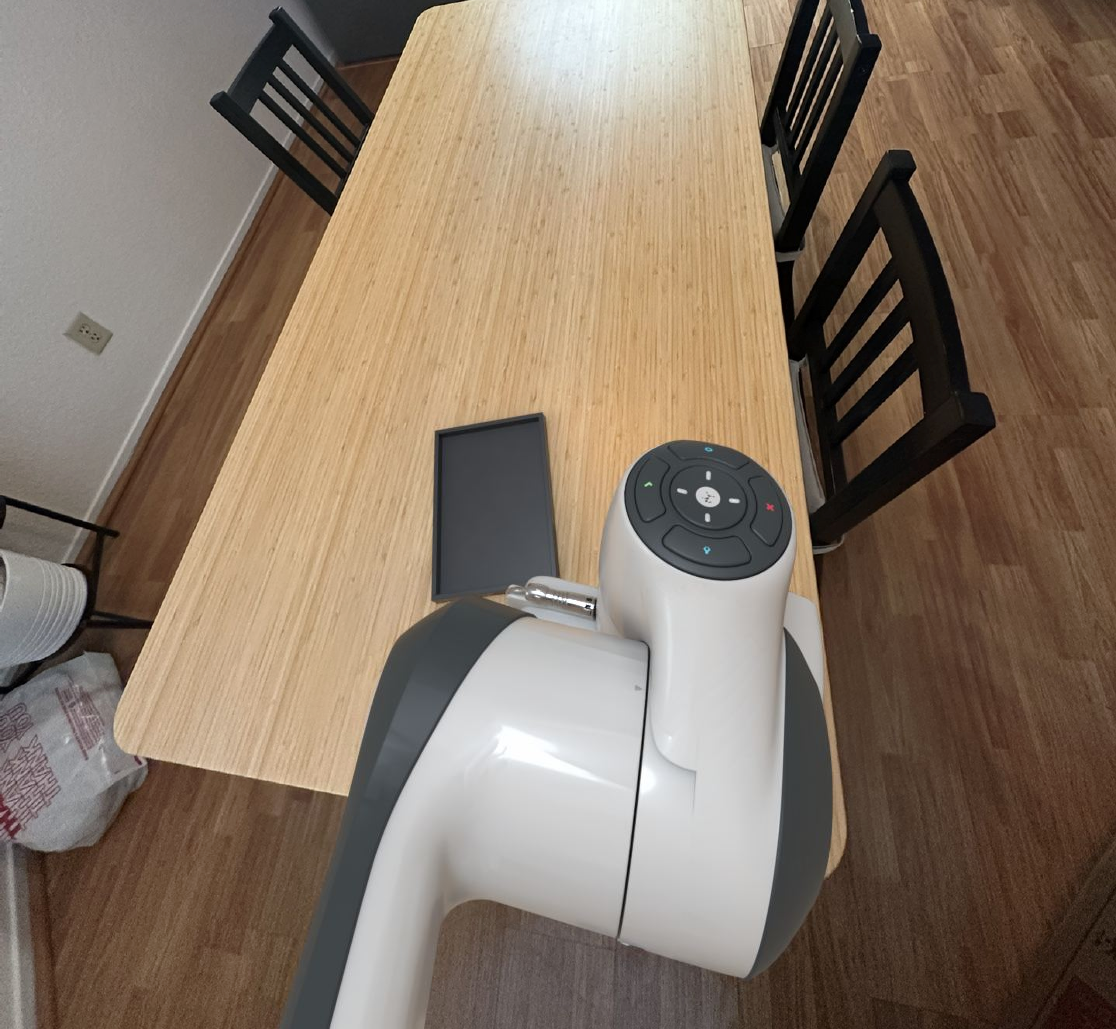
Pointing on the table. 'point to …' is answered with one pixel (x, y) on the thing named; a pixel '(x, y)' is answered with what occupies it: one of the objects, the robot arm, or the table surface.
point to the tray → (492, 508)
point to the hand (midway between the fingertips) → (651, 683)
